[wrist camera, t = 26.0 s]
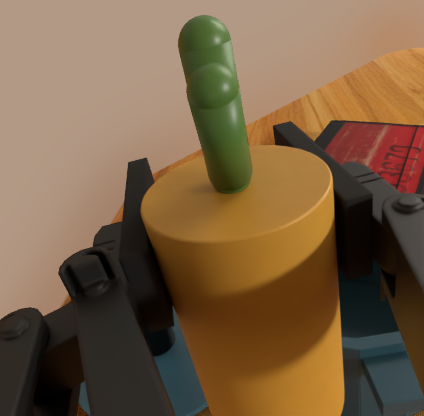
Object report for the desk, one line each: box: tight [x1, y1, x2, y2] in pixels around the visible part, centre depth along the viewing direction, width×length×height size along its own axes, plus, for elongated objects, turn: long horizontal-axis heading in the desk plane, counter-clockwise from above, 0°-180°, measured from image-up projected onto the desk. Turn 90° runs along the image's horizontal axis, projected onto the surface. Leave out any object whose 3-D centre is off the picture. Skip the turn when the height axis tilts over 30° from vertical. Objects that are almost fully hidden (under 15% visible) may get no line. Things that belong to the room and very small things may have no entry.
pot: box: [338, 259, 424, 416], centre depth 28 cm, size 14×19×8 cm
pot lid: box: [78, 308, 208, 416], centre depth 30 cm, size 15×15×11 cm
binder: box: [315, 120, 424, 195], centre depth 53 cm, size 16×2×21 cm
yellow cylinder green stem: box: [141, 15, 344, 416], centre depth 12 cm, size 5×5×13 cm
